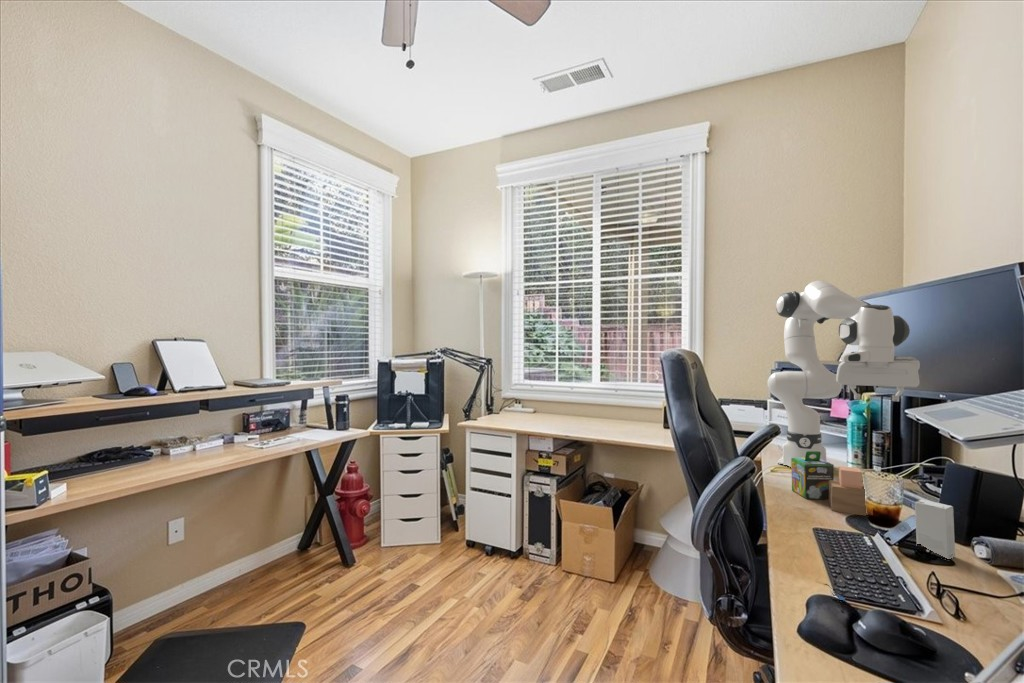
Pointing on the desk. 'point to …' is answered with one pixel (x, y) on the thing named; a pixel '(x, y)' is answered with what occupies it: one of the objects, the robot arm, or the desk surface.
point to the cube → (850, 477)
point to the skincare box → (935, 527)
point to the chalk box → (811, 476)
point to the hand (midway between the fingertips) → (876, 400)
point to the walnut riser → (847, 499)
